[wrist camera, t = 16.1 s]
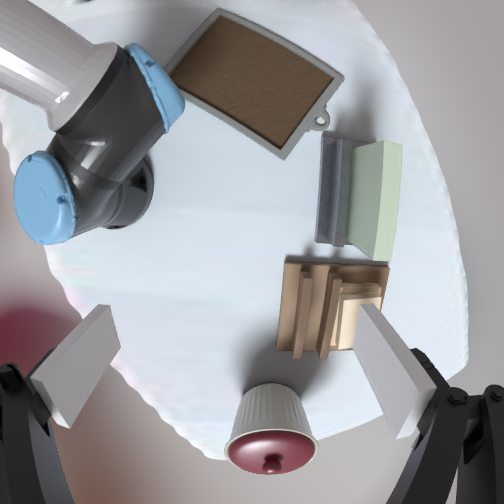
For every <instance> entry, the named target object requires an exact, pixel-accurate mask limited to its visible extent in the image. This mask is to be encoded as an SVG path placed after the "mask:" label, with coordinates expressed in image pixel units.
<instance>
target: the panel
mask: <svg viewBox="0 0 504 504" xmlns="http://www.w3.org/2000/svg"><path fill="white" fill-rule="evenodd" d="M401 169H402V144H398V143H393V142H389V141H380V142H376V143H372V144H368V145H364V146H360V147H356V148H352V149H351V169H350V184H349V198H348V209H347V219H346V229H345V239H347V240H348V241H349V242H350V243H352V244H353V245H354V246H355V247H357V248H358V249H359V250H360V251H362V252H363V253H364V254H365V255H367V256H368V257H369V258H370V259H372V260H373V261H391V257H392V251H393V245H394V239H395V231H396V224H397V216H398V207H399V196H400V184H401Z"/></svg>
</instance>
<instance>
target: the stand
mask: <svg viewBox="0 0 504 504" xmlns="http://www.w3.org/2000/svg"><path fill="white" fill-rule="evenodd" d="M368 144H372V143H366V142H360V141H354V140H347V139H340V138H333V137H325V136H323V137H321V158H320V177H319V192H318V206H317V218H316V230H315V240H314V241H315V242H316V243H327V244H332V245H333V246H335V247H343V246H344V245H353V244H352V243H350V242H349V241H348V240H347V239H345V229H346V219H347V209H348V198H349V184H350V169H351V149H352V148H356V147H360V146H364V145H368Z"/></svg>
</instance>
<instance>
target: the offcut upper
mask: <svg viewBox="0 0 504 504" xmlns="http://www.w3.org/2000/svg"><path fill="white" fill-rule="evenodd" d="M368 303H374V304H375V306H376V307H377V308H378V309H379V311H380V304H381V296H380V295H379V294H378V293H377V292H363V293H350V294H340V301H339V312H338V322H337V331H336V340H335V343H336V345H337V348H338V349H348V348H352V347H353V342H354V337H355V332H356V326H357V320H358V314H359V308H360V304H368Z"/></svg>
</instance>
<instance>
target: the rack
mask: <svg viewBox="0 0 504 504" xmlns="http://www.w3.org/2000/svg"><path fill="white" fill-rule="evenodd" d="M389 270H390V268H389V267H388V266H379V265H355V264H332V263H310V262H289V261H284V272H283V284H282V295H281V306H280V316H279V326H278V336H277V345H276V348H277V351H292V355H293V359H301V356H302V351H317V352H318V356H319V359H327V357H328V352H329V351H340V350H353V348H348V349H338V348H337V345H336V346H330V343H331V338H332V334H333V329H334V324H335V318H336V313H337V308H338V302H339V296H340V290H341V284H342V282H347V283H377V284H378V285H379V286H380V287H381V288H382V289H381V294H380V296H381V304H380V312H381V308H382V303H383V299H384V295H385V290H386V285H387V280H388V275H389Z"/></svg>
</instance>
